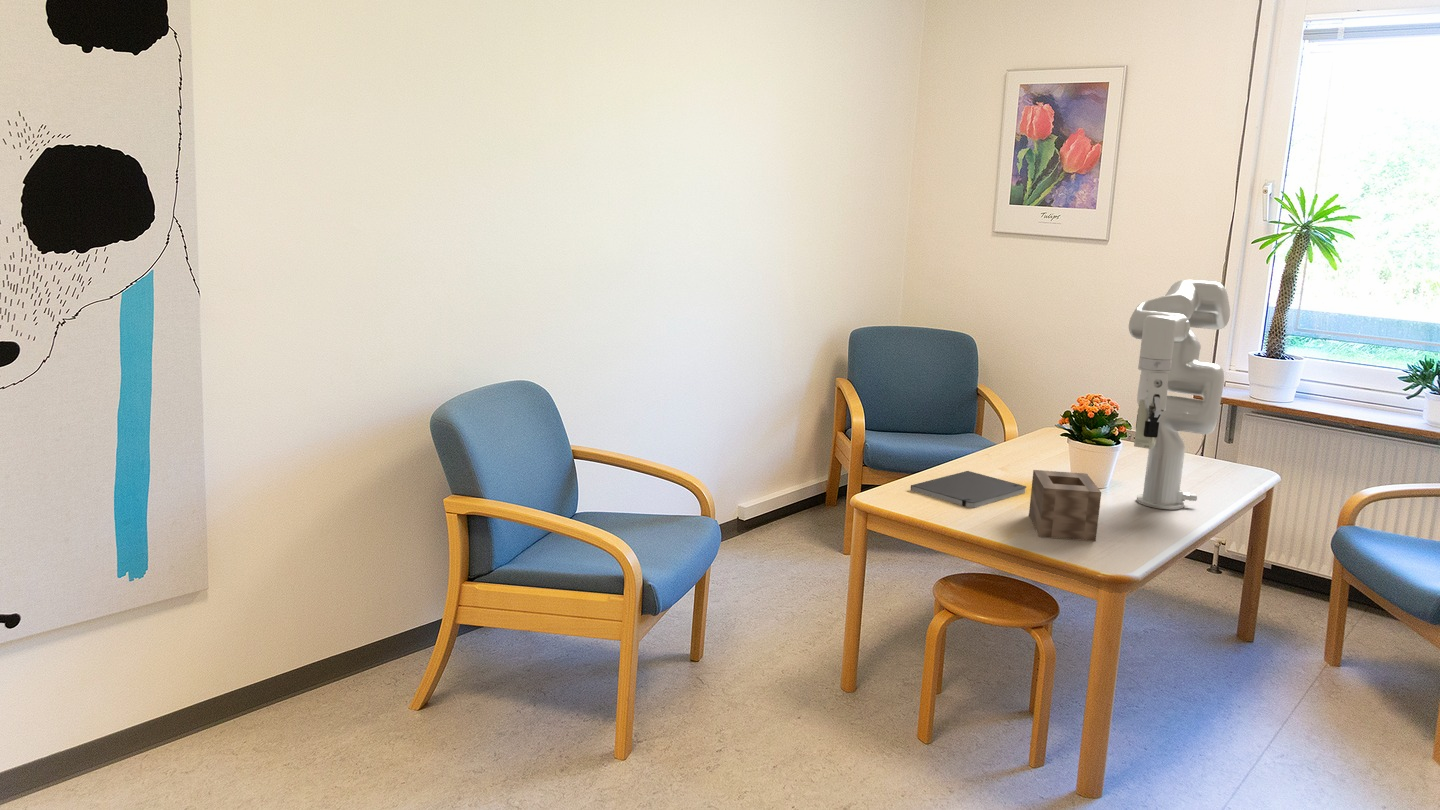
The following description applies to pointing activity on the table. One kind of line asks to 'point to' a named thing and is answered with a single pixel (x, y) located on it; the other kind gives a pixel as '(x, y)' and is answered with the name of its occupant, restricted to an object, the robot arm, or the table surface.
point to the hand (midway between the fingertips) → (1146, 432)
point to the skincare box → (1139, 436)
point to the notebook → (969, 489)
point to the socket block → (1064, 505)
